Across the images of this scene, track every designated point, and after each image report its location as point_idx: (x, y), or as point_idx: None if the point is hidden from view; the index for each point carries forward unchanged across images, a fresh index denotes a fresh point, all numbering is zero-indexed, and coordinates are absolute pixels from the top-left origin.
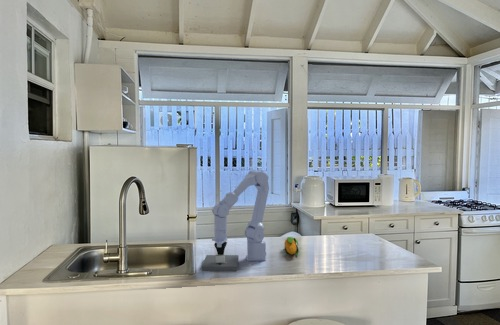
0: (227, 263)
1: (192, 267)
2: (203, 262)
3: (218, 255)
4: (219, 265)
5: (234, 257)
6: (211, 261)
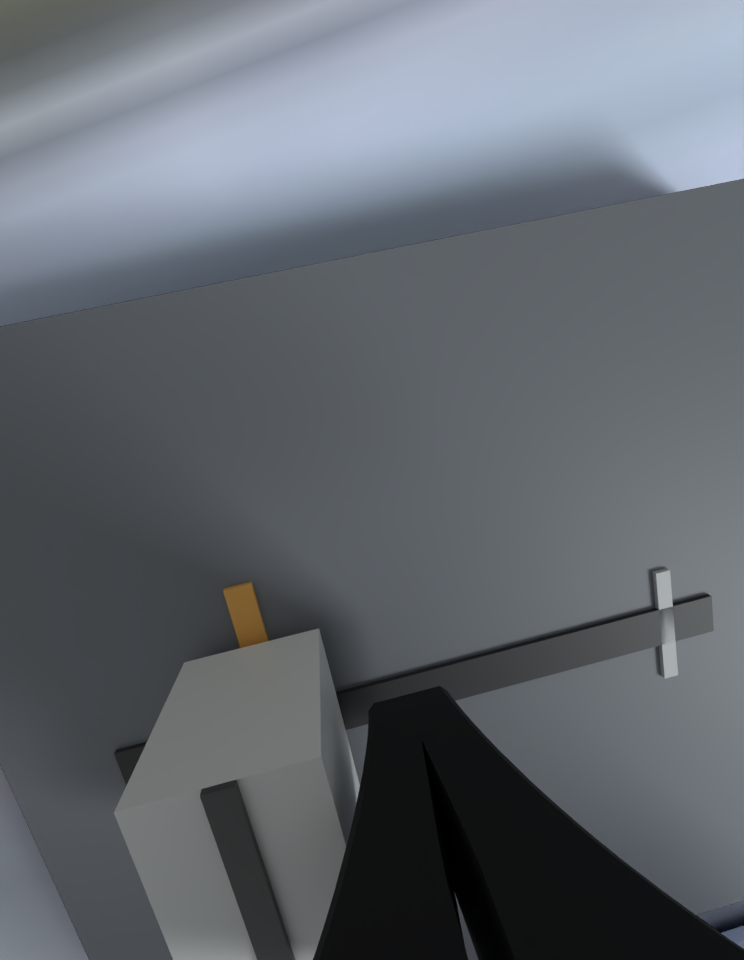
0: None
1: (66, 31)
2: (168, 298)
3: (228, 871)
4: (79, 778)
5: (658, 867)
6: (305, 494)
